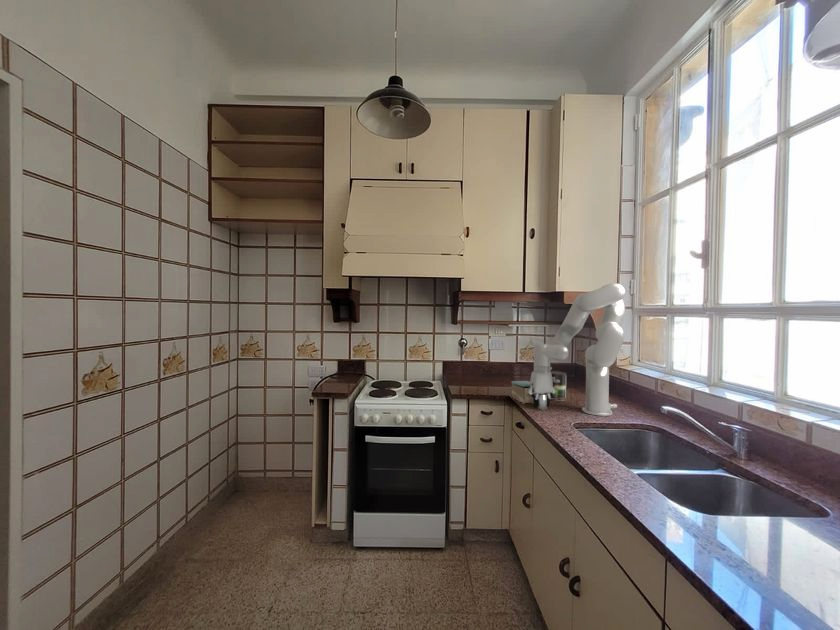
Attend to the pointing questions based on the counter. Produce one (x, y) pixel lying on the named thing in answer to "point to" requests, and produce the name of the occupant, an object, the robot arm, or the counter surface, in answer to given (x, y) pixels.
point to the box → (521, 393)
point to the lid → (521, 383)
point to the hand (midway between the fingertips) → (541, 406)
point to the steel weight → (542, 401)
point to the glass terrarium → (559, 384)
